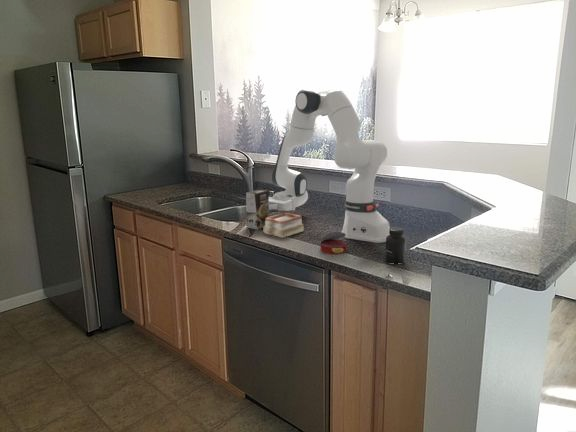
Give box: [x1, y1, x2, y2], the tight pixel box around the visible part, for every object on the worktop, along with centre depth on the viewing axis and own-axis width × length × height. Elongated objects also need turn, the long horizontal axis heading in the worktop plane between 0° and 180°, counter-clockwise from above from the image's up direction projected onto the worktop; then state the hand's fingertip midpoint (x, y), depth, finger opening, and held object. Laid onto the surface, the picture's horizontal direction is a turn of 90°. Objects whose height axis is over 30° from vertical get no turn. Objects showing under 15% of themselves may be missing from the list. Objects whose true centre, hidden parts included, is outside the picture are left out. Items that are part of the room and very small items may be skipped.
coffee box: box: [245, 189, 270, 230], centre depth 205 cm, size 9×6×16 cm
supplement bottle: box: [384, 226, 407, 264], centre depth 158 cm, size 7×7×12 cm
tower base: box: [262, 212, 305, 239], centre depth 197 cm, size 11×14×7 cm
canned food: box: [319, 231, 348, 255], centre depth 172 cm, size 11×10×10 cm
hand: (260, 206), depth 206 cm, fingers open, 8 cm apart
